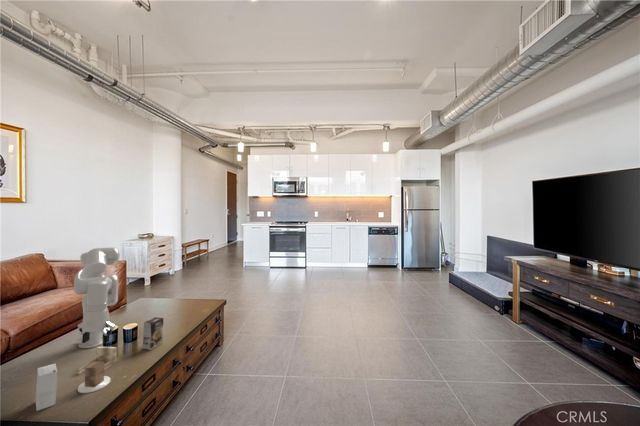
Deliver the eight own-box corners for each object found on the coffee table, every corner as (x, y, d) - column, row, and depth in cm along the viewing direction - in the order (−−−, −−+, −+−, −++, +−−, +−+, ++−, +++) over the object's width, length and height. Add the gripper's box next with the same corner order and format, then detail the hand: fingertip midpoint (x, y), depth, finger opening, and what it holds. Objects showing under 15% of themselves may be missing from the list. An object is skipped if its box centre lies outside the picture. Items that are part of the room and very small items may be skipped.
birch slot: (77, 374, 135) (77, 358, 135) (97, 361, 148) (98, 346, 148) (97, 375, 135) (98, 359, 135) (116, 361, 148) (116, 347, 148)
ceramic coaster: (70, 392, 122) (70, 391, 122) (92, 376, 134) (92, 375, 134) (96, 393, 122) (96, 392, 122) (116, 377, 134) (116, 376, 134)
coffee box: (151, 350, 161) (152, 323, 161) (142, 348, 162) (143, 322, 162) (163, 343, 170) (164, 317, 170) (154, 341, 171) (155, 316, 171)
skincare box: (34, 402, 115) (36, 368, 115) (54, 395, 120) (55, 362, 120) (36, 412, 110) (37, 376, 110) (56, 404, 115) (58, 369, 115)
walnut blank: (84, 386, 125) (85, 367, 125) (93, 380, 130) (94, 361, 130) (95, 387, 125) (95, 367, 125) (103, 380, 130) (104, 362, 130)
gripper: (71, 308, 124) (70, 345, 124) (108, 310, 124) (107, 347, 124) (86, 303, 132) (85, 337, 132) (120, 304, 132) (119, 339, 132)
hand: (95, 342), depth 128 cm, fingers open, 9 cm apart
